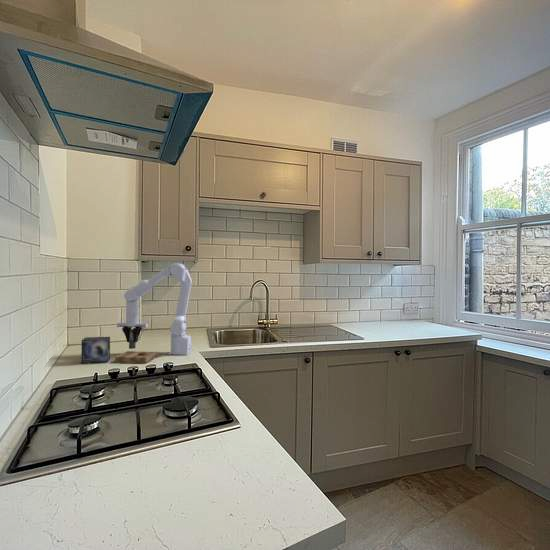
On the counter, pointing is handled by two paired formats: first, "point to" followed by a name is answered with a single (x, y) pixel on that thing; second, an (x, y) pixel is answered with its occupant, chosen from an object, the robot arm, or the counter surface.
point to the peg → (131, 339)
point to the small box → (95, 350)
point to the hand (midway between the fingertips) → (132, 342)
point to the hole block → (135, 357)
